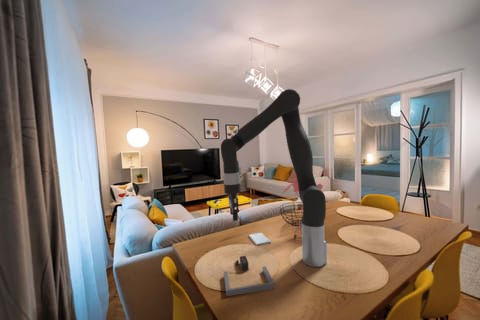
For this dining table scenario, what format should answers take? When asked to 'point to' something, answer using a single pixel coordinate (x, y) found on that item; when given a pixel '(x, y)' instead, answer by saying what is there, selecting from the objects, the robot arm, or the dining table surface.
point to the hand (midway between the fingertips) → (234, 217)
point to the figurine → (298, 195)
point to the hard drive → (259, 239)
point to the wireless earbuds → (243, 263)
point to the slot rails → (249, 288)
